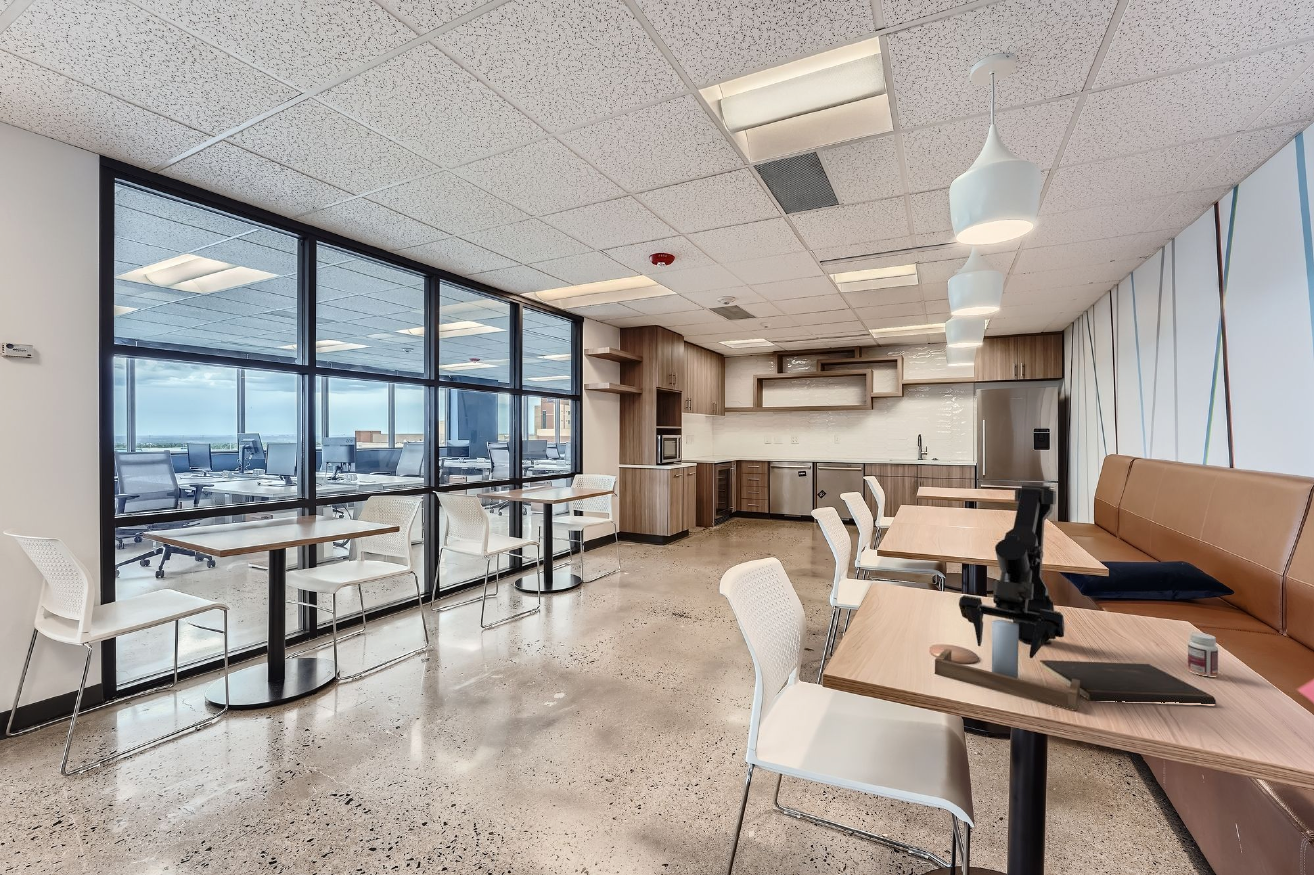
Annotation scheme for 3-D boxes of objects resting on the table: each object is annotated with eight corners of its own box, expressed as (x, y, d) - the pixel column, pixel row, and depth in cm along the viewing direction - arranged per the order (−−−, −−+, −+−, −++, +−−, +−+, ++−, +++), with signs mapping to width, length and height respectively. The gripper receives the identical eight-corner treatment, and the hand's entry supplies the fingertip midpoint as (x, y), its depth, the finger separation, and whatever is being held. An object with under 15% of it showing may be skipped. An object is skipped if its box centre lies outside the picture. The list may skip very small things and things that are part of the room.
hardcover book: (1039, 670, 125) (1039, 659, 125) (1148, 674, 123) (1148, 663, 123) (1090, 704, 109) (1090, 692, 109) (1216, 709, 107) (1216, 697, 107)
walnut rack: (945, 661, 127) (945, 648, 127) (1079, 695, 111) (1079, 680, 111) (934, 673, 121) (934, 659, 121) (1075, 711, 105) (1075, 695, 105)
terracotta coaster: (963, 647, 136) (963, 644, 136) (986, 663, 126) (986, 661, 126) (921, 646, 137) (921, 643, 137) (942, 663, 127) (942, 660, 127)
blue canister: (994, 676, 120) (995, 618, 120) (1019, 683, 117) (1020, 623, 117) (989, 683, 116) (990, 623, 116) (1015, 690, 113) (1016, 628, 113)
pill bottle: (1209, 670, 124) (1210, 633, 124) (1223, 679, 120) (1223, 640, 120) (1182, 667, 126) (1183, 630, 126) (1194, 676, 121) (1195, 637, 121)
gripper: (961, 558, 126) (947, 619, 117) (1064, 573, 113) (1056, 642, 105) (969, 587, 132) (956, 647, 123) (1067, 603, 119) (1060, 671, 111)
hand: (1004, 651), depth 116 cm, fingers open, 9 cm apart
